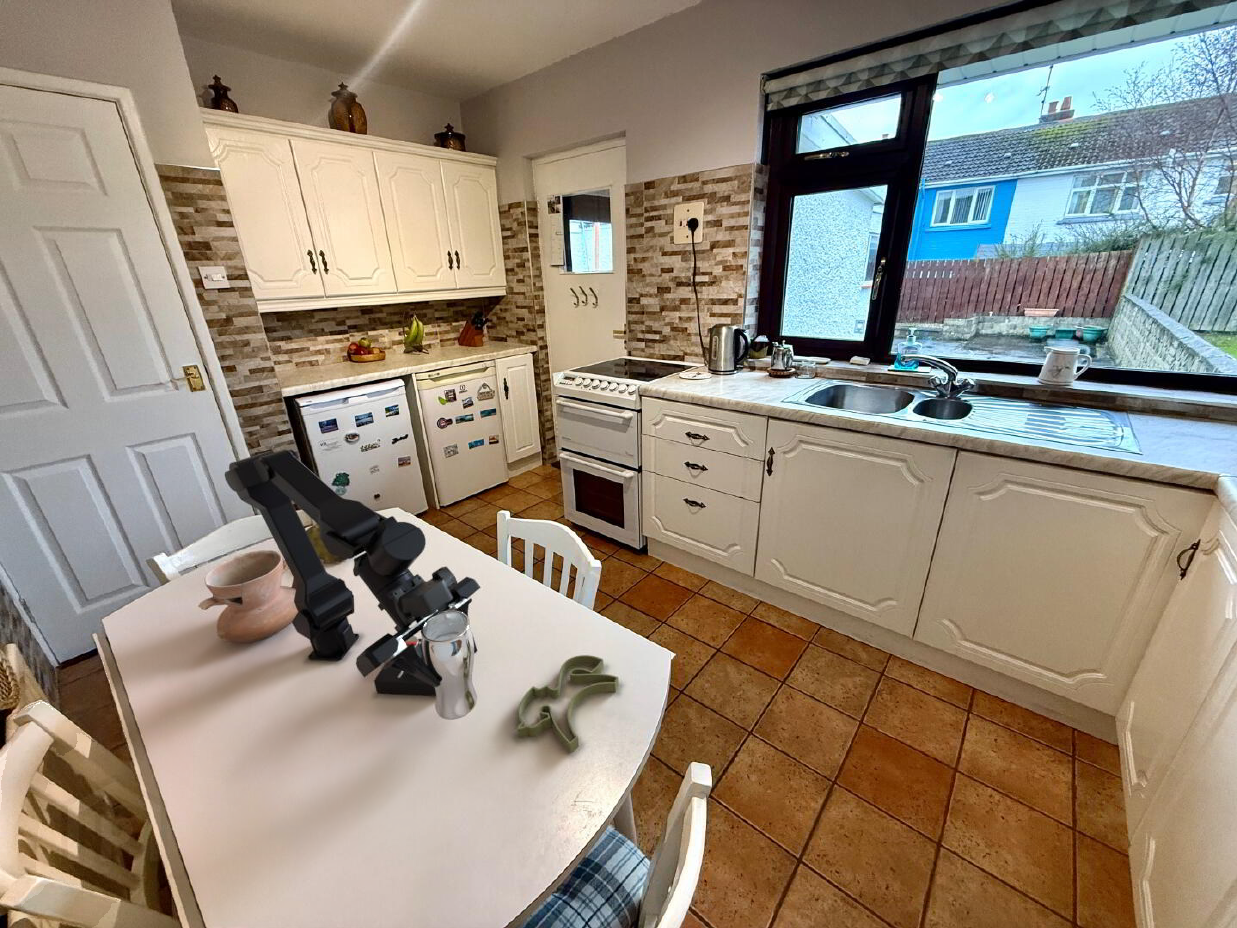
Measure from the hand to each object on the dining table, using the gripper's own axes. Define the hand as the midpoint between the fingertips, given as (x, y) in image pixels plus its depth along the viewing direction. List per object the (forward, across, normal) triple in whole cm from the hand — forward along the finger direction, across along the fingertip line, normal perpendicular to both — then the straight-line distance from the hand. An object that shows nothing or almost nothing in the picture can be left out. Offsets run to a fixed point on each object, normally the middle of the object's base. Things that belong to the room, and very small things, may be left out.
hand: (457, 668), depth 71 cm
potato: (-38, +18, +57) cm, 71 cm away
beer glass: (+4, 0, +6) cm, 8 cm away
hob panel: (-2, +4, +20) cm, 21 cm away
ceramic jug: (-29, -3, +48) cm, 56 cm away
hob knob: (-5, +3, +19) cm, 20 cm away
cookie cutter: (+17, +12, +2) cm, 20 cm away
